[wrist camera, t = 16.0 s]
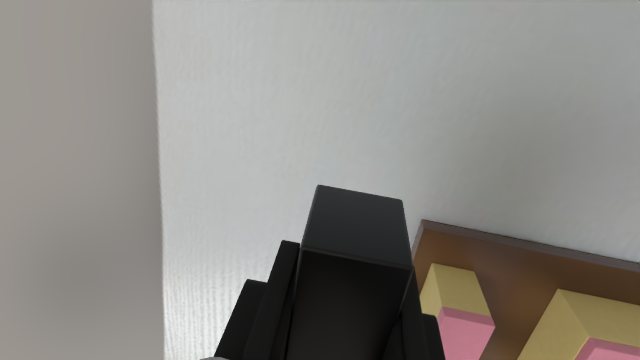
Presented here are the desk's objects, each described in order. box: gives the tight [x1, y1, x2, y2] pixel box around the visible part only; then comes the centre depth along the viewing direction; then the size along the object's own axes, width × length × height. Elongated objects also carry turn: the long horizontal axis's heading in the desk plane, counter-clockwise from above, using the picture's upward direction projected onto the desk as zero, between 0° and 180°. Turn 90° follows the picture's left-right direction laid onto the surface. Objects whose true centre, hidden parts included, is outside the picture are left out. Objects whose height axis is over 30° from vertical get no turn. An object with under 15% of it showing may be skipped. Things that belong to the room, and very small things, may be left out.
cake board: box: [411, 220, 640, 360], centre depth 29 cm, size 14×20×1 cm
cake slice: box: [420, 263, 495, 360], centre depth 26 cm, size 9×3×5 cm, turn 170°
